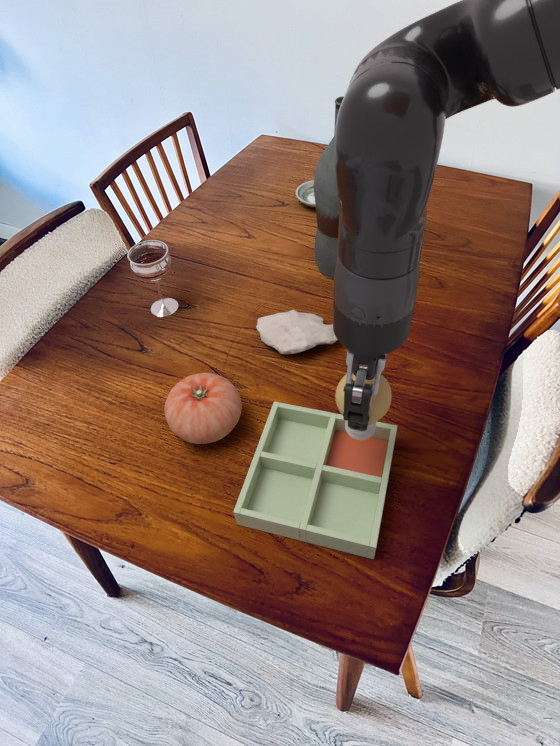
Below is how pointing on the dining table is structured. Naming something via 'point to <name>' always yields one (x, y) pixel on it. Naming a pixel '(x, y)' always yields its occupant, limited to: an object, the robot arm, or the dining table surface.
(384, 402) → the light bulb
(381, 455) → the grid
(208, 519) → the dining table surface
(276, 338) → the decorative stone
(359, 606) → the dining table surface
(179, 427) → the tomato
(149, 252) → the wineglass
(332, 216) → the bottle
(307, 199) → the saucer
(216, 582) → the dining table surface
